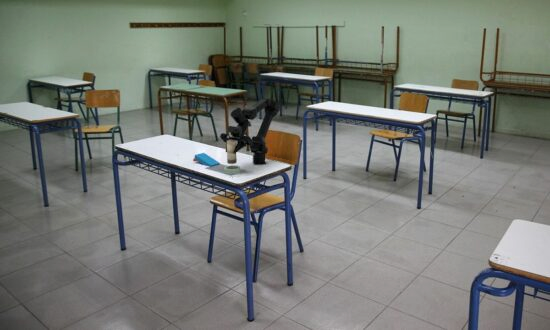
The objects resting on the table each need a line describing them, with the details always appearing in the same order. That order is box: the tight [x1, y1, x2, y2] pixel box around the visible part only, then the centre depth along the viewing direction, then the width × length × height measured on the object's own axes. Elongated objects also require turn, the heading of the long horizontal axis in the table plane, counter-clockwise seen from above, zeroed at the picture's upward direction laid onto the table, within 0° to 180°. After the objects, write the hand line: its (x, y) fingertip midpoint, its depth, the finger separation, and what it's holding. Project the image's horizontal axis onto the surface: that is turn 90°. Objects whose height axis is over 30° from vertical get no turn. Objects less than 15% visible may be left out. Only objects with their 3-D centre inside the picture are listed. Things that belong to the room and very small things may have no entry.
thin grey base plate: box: [205, 163, 247, 177], centre depth 261 cm, size 22×12×4 cm, turn 47°
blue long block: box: [192, 152, 221, 167], centre depth 275 cm, size 7×7×18 cm
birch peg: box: [226, 140, 238, 165], centre depth 253 cm, size 5×5×12 cm
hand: (230, 152), depth 252 cm, fingers closed on birch peg, 5 cm apart
